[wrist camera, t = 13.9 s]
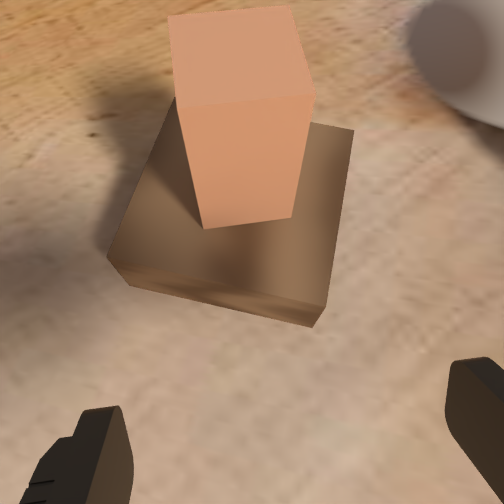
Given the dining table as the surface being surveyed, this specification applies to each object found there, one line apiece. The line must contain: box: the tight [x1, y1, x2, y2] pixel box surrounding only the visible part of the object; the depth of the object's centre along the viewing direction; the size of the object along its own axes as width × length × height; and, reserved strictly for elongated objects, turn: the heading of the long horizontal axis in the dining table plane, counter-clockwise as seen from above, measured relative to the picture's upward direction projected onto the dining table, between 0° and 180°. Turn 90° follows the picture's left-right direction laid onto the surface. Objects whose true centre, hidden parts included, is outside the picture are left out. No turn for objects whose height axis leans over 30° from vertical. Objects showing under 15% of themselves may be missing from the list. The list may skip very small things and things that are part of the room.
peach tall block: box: [168, 5, 316, 229], centre depth 19 cm, size 5×5×9 cm
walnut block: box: [107, 97, 354, 328], centre depth 25 cm, size 12×12×5 cm
